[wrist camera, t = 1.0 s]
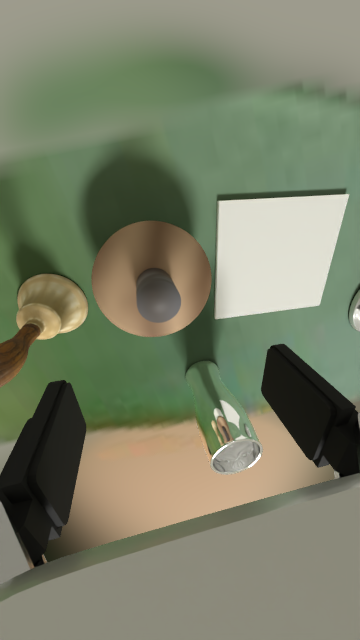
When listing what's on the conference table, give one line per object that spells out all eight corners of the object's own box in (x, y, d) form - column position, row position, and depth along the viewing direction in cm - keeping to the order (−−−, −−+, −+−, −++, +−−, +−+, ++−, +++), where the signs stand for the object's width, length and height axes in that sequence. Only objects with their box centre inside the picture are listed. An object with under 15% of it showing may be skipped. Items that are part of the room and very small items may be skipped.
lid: (210, 217, 23) (233, 219, 18) (207, 326, 29) (224, 352, 23) (79, 224, 21) (61, 228, 16) (106, 339, 27) (99, 370, 22)
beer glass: (186, 393, 40) (212, 482, 27) (179, 364, 37) (204, 450, 24) (222, 382, 41) (264, 465, 28) (218, 353, 37) (264, 431, 24)
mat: (345, 194, 29) (349, 194, 29) (316, 303, 37) (319, 305, 36) (217, 201, 27) (219, 200, 26) (214, 317, 34) (215, 319, 34)
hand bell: (2, 289, 27) (-143, 378, 13) (64, 262, 27) (-13, 321, 13) (46, 341, 31) (-28, 451, 17) (100, 317, 31) (72, 408, 17)
